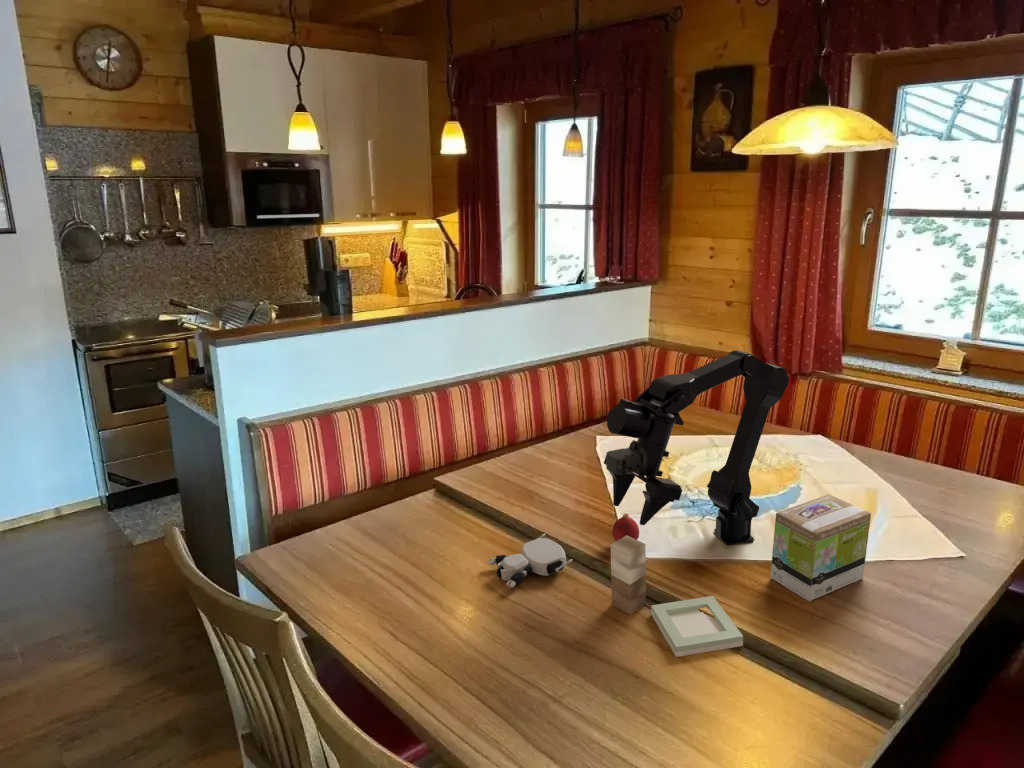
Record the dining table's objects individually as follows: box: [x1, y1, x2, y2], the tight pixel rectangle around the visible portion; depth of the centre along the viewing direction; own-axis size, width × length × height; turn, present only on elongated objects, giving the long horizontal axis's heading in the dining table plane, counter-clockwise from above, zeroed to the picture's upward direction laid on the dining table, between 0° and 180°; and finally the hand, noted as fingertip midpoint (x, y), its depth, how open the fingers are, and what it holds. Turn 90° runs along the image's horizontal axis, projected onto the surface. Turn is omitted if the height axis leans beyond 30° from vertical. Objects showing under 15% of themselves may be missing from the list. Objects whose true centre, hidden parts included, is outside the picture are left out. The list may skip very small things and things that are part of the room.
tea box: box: [769, 494, 872, 602], centre depth 136 cm, size 15×10×15 cm, turn 117°
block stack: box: [610, 536, 647, 616], centre depth 132 cm, size 4×4×13 cm
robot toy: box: [488, 533, 574, 588], centre depth 146 cm, size 12×4×15 cm
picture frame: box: [650, 595, 744, 658], centre depth 125 cm, size 12×12×2 cm
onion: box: [611, 512, 640, 542], centre depth 152 cm, size 6×6×8 cm
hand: (628, 515), depth 140 cm, fingers open, 9 cm apart
